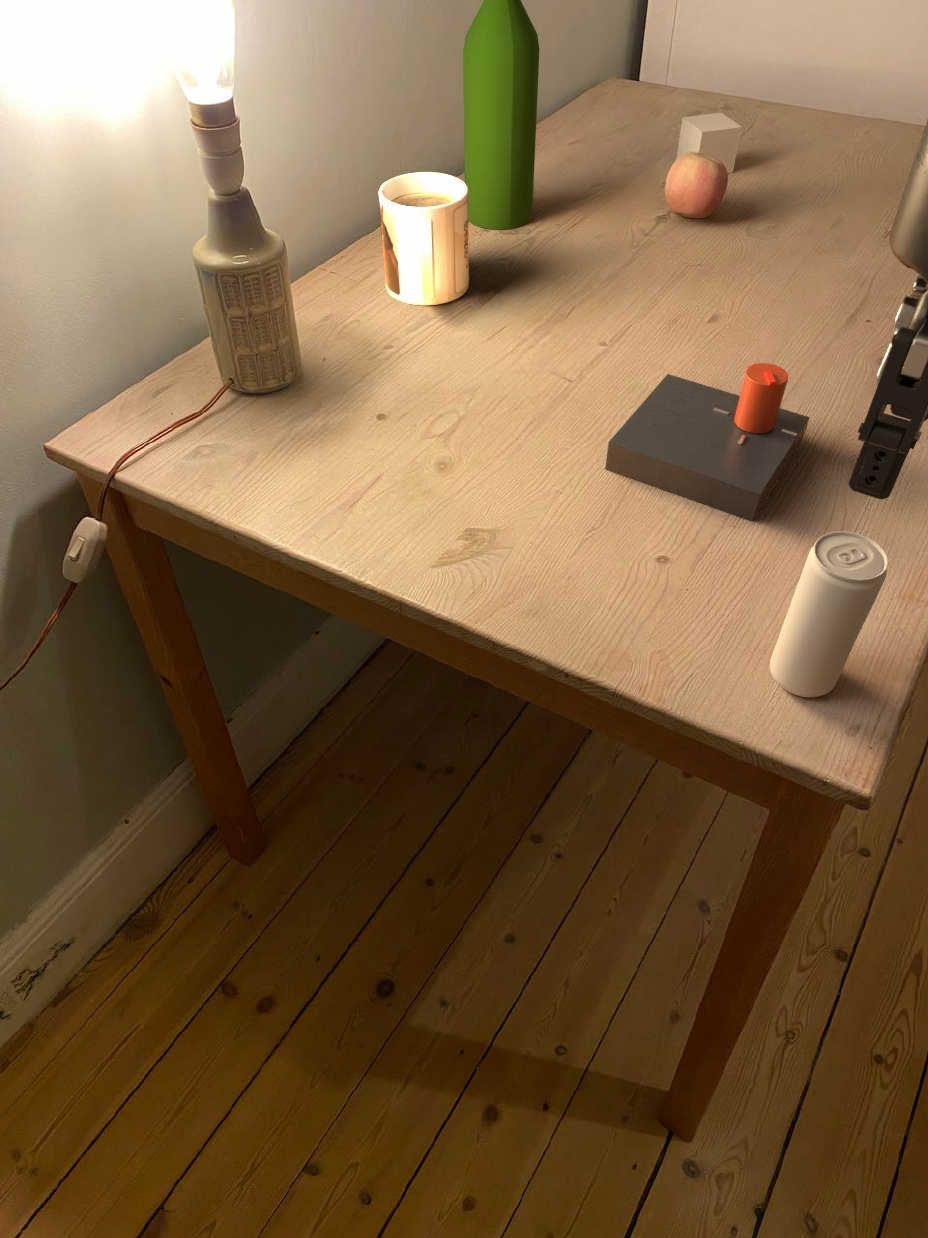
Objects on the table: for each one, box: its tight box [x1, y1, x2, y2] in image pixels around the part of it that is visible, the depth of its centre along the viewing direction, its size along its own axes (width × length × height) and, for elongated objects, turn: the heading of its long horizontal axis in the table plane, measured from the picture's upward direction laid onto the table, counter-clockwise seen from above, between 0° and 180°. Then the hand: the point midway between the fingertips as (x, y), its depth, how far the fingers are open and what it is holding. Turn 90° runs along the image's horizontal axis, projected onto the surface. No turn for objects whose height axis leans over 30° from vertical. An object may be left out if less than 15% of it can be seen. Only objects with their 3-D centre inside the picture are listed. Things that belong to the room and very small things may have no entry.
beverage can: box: [769, 530, 890, 698], centre depth 62 cm, size 5×5×12 cm
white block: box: [675, 112, 743, 174], centre depth 128 cm, size 6×6×6 cm
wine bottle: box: [462, 0, 540, 231], centre depth 108 cm, size 9×9×32 cm
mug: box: [378, 171, 470, 306], centre depth 103 cm, size 10×12×11 cm
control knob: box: [734, 362, 789, 434], centre depth 81 cm, size 4×4×5 cm
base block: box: [604, 373, 810, 522], centre depth 83 cm, size 14×13×3 cm
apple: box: [664, 152, 729, 219], centre depth 116 cm, size 8×8×8 cm
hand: (889, 451), depth 53 cm, fingers open, 8 cm apart
